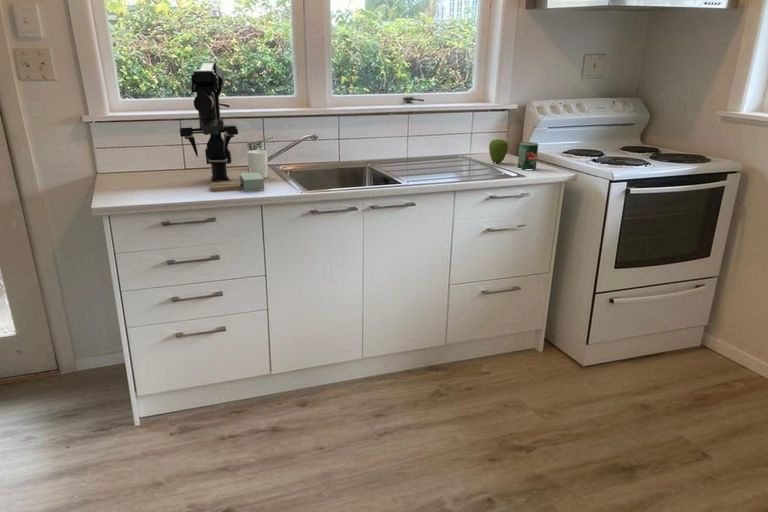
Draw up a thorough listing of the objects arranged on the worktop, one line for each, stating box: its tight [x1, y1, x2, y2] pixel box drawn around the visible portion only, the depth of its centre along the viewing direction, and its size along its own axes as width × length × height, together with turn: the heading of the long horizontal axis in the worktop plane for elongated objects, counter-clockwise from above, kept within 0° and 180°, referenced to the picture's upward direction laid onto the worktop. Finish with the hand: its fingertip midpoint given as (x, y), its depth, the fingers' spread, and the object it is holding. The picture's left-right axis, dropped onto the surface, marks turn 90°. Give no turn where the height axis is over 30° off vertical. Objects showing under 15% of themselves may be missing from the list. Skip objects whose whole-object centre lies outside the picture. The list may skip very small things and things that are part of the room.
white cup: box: [246, 149, 269, 179], centre depth 232 cm, size 8×8×10 cm
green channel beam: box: [239, 172, 265, 192], centre depth 215 cm, size 12×7×4 cm, turn 20°
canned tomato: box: [517, 141, 539, 170], centre depth 255 cm, size 8×8×11 cm
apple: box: [488, 138, 509, 164], centre depth 266 cm, size 9×8×12 cm
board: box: [210, 181, 242, 192], centre depth 212 cm, size 7×10×2 cm
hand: (211, 155), depth 202 cm, fingers open, 9 cm apart
